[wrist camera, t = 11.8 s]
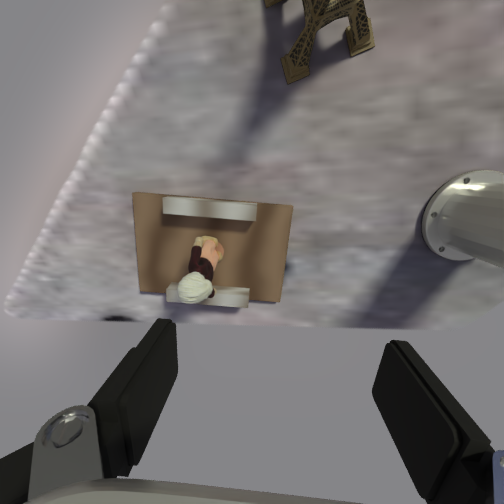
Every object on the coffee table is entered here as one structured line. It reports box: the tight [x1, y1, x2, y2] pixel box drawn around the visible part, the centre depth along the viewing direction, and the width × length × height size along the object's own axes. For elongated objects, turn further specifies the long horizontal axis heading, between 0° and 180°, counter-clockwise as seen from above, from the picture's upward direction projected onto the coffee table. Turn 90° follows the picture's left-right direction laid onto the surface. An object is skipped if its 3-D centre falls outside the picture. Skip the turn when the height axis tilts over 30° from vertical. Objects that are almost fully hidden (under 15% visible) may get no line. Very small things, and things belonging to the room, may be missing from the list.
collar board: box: [132, 192, 293, 308], centre depth 34 cm, size 22×15×4 cm
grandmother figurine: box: [177, 236, 223, 304], centre depth 28 cm, size 8×4×13 cm, turn 23°
